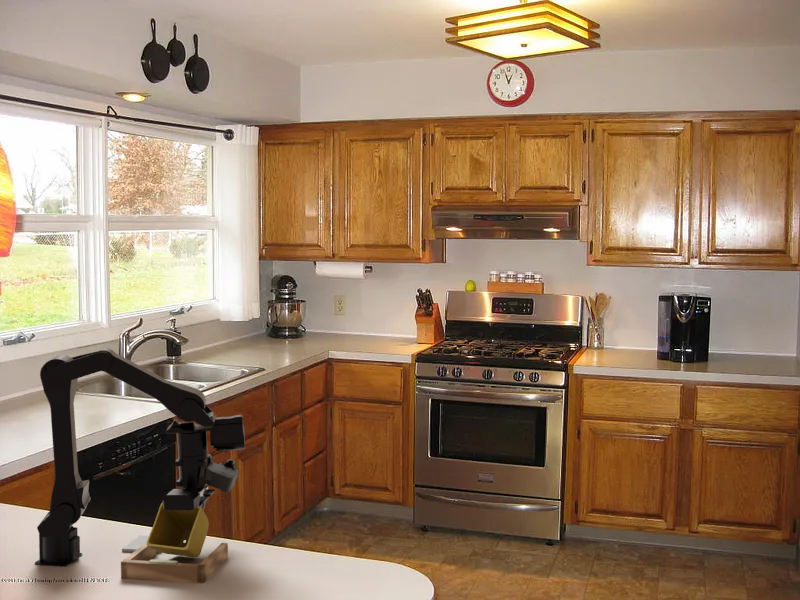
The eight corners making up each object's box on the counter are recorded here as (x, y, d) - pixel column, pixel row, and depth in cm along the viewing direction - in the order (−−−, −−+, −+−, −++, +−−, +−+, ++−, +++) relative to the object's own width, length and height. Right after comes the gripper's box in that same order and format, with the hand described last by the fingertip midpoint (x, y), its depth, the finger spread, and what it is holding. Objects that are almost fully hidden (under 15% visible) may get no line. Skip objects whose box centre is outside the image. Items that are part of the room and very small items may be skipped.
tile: (121, 551, 168) (121, 547, 168) (139, 538, 176) (139, 534, 176) (160, 553, 167) (160, 550, 167) (176, 540, 175) (176, 536, 175)
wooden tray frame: (151, 553, 167) (150, 536, 167) (227, 558, 165) (227, 541, 165) (121, 577, 155) (120, 559, 155) (203, 583, 153) (203, 565, 152)
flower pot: (205, 567, 163) (186, 550, 156) (165, 562, 166) (145, 545, 159) (219, 524, 168) (201, 505, 161) (180, 520, 171) (161, 501, 164)
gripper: (216, 468, 157) (220, 548, 159) (246, 439, 175) (250, 512, 177) (159, 467, 158) (163, 547, 160) (195, 439, 177) (199, 511, 179)
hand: (197, 528), depth 169 cm, fingers closed, pressing on flower pot
